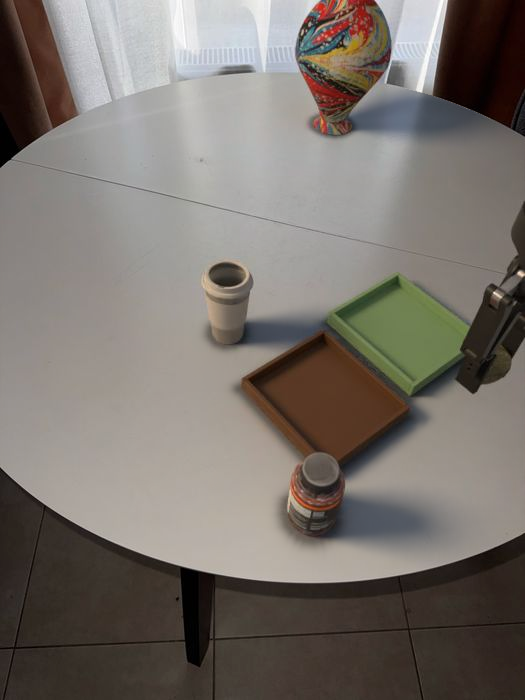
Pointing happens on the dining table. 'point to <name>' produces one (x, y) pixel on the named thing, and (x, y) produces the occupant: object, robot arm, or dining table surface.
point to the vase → (342, 57)
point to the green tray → (401, 331)
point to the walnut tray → (325, 398)
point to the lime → (498, 366)
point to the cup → (227, 298)
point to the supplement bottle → (315, 494)
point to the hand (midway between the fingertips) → (481, 373)
